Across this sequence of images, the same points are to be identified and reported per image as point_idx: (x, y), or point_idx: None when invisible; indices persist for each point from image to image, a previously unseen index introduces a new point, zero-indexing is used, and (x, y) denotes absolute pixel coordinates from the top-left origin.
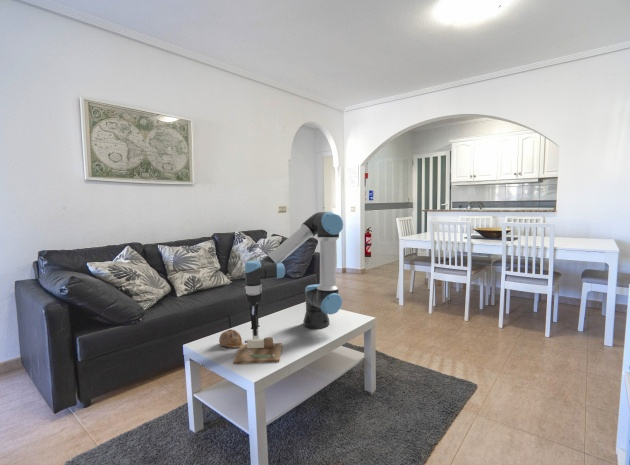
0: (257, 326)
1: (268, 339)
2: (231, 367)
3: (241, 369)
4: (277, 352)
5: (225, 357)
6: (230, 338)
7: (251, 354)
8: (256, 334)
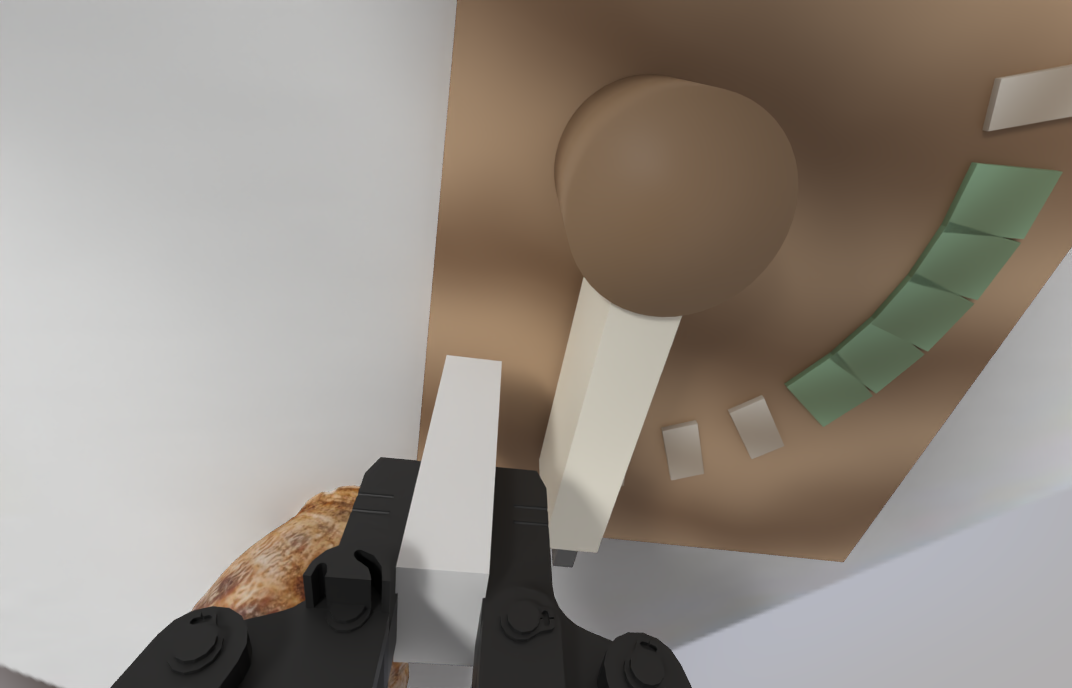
0: (486, 642)
1: (713, 213)
2: (888, 546)
3: (995, 476)
4: (936, 7)
5: (641, 594)
6: (389, 681)
7: (771, 414)
8: (545, 493)
